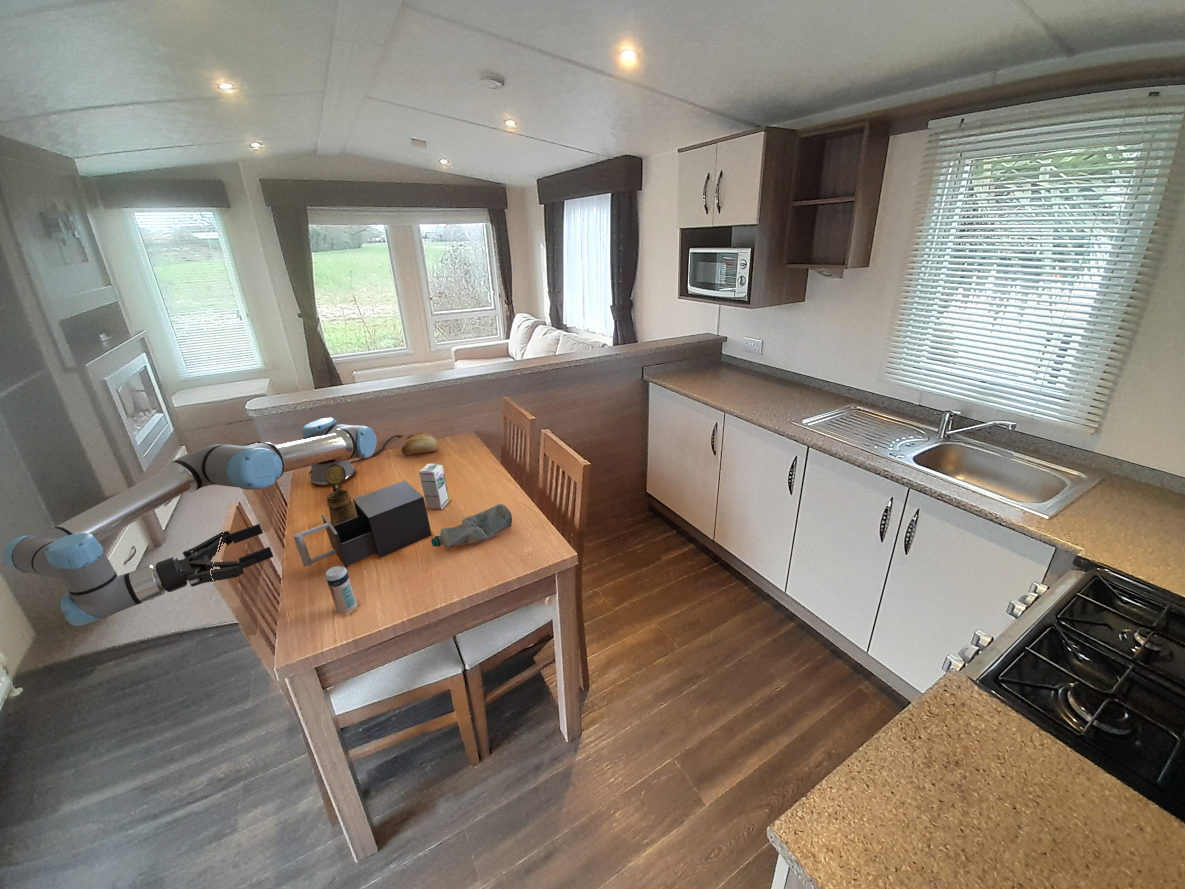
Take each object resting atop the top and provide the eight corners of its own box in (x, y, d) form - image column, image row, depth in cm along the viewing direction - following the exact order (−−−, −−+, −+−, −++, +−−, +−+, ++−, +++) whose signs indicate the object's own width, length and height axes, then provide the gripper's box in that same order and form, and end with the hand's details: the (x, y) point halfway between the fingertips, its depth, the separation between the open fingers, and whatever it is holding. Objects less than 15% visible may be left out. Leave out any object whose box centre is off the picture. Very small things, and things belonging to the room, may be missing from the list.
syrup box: (442, 509, 160) (434, 472, 154) (426, 508, 162) (418, 470, 155) (449, 500, 166) (443, 463, 159) (434, 499, 167) (427, 462, 160)
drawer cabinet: (379, 558, 138) (368, 517, 132) (363, 537, 147) (352, 498, 141) (431, 535, 147) (423, 496, 141) (413, 517, 157) (405, 480, 151)
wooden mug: (361, 506, 164) (348, 460, 156) (361, 527, 152) (347, 478, 145) (333, 513, 161) (318, 465, 153) (330, 534, 149) (314, 484, 142)
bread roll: (402, 451, 204) (398, 434, 200) (438, 444, 209) (435, 427, 205) (403, 460, 195) (399, 442, 192) (440, 453, 200) (437, 436, 197)
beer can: (341, 602, 122) (329, 565, 117) (360, 600, 122) (349, 563, 117) (333, 616, 118) (320, 578, 113) (353, 614, 118) (341, 576, 113)
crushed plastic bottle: (501, 513, 157) (426, 539, 144) (500, 495, 154) (423, 520, 141) (520, 534, 148) (440, 564, 135) (519, 516, 144) (437, 545, 132)
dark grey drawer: (312, 583, 127) (299, 547, 122) (300, 560, 136) (287, 525, 131) (400, 545, 142) (392, 511, 136) (384, 526, 151) (375, 494, 145)
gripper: (164, 565, 120) (261, 531, 133) (170, 620, 103) (281, 574, 116) (152, 541, 117) (252, 508, 130) (155, 593, 100) (271, 549, 112)
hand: (266, 539), depth 123 cm, fingers open, 13 cm apart
